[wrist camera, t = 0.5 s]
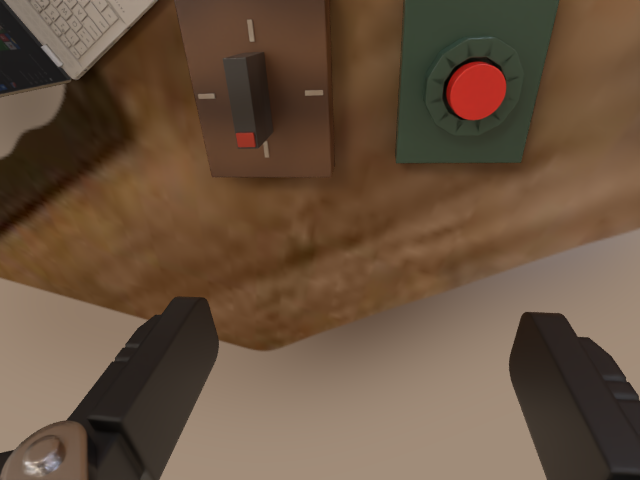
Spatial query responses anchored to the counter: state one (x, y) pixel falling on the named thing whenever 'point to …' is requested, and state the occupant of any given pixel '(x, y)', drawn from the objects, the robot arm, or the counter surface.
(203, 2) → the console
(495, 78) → the red button
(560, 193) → the counter surface
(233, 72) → the grip knob
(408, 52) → the button block
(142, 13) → the laptop
